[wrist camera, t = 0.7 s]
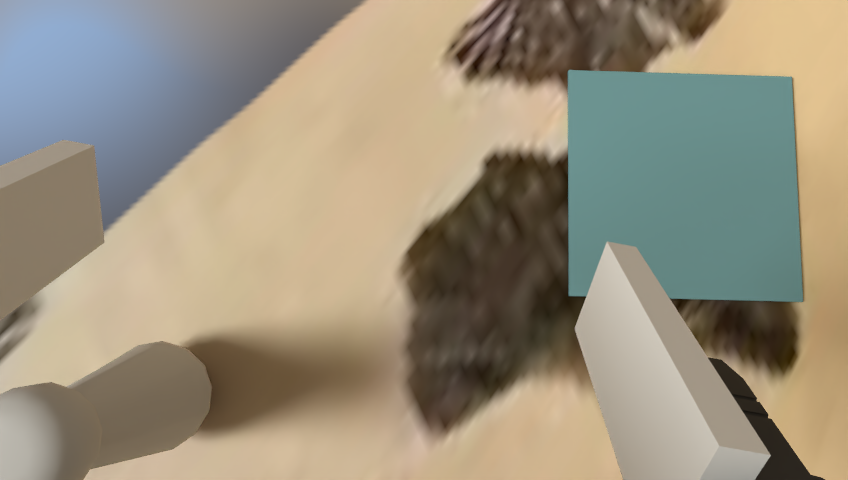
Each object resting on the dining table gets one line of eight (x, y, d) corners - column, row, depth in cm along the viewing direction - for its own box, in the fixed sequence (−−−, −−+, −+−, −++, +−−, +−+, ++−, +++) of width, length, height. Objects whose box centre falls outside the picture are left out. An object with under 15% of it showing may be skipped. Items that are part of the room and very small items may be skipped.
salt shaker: (113, 360, 31) (-102, 404, 18) (205, 323, 32) (59, 341, 19) (145, 456, 31) (-53, 571, 18) (239, 418, 31) (112, 503, 18)
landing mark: (800, 301, 32) (803, 302, 32) (568, 295, 32) (569, 295, 32) (789, 78, 34) (791, 76, 33) (567, 71, 34) (568, 70, 33)
